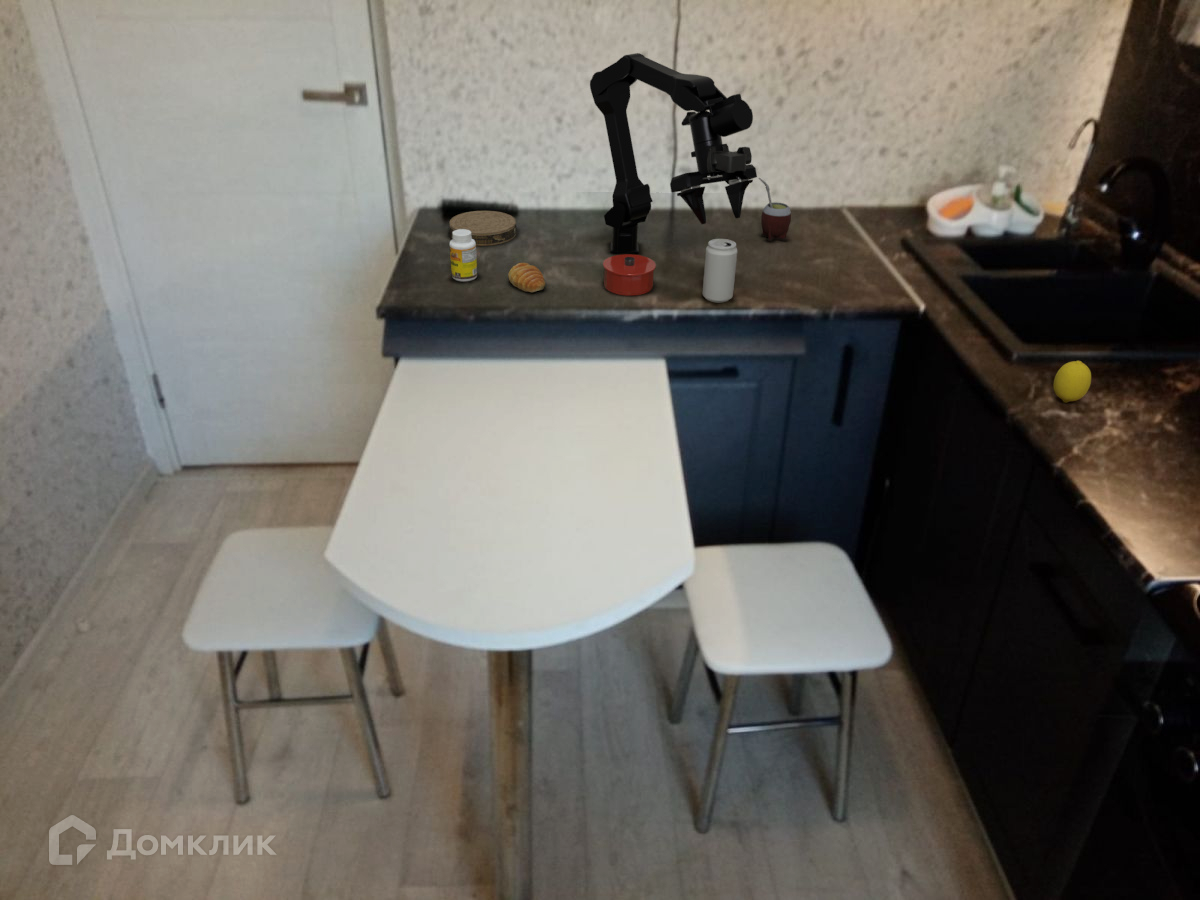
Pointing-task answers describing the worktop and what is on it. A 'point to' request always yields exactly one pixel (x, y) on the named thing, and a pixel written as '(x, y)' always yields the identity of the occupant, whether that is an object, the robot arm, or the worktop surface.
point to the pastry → (526, 277)
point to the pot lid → (629, 265)
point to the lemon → (1072, 381)
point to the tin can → (485, 226)
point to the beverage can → (719, 270)
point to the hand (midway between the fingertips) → (721, 221)
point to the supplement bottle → (463, 256)
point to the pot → (628, 283)
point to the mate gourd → (775, 219)
